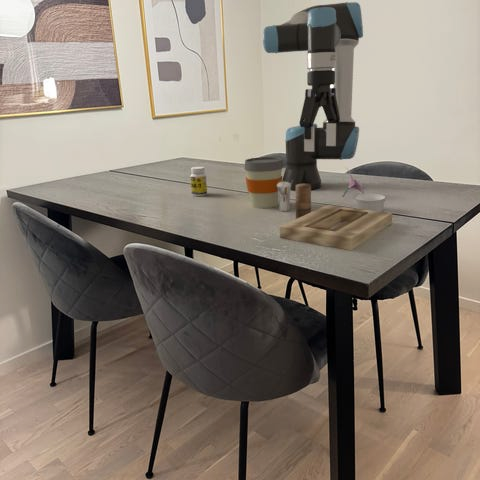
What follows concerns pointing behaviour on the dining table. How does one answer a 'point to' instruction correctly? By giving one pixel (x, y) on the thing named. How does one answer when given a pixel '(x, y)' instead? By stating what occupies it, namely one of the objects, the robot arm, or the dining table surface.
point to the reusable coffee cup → (263, 180)
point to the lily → (354, 184)
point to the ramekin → (370, 202)
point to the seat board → (343, 236)
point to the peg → (303, 200)
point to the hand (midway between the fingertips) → (320, 148)
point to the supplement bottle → (198, 181)
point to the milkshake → (284, 195)
